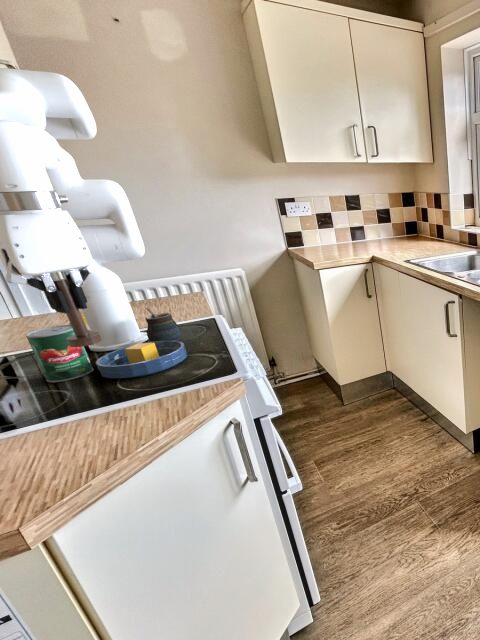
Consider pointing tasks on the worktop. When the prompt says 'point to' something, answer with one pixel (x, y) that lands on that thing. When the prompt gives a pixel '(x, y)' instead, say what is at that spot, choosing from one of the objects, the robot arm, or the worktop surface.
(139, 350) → the block
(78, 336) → the muddler
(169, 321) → the mate gourd
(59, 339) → the canned tomato
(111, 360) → the bowl
